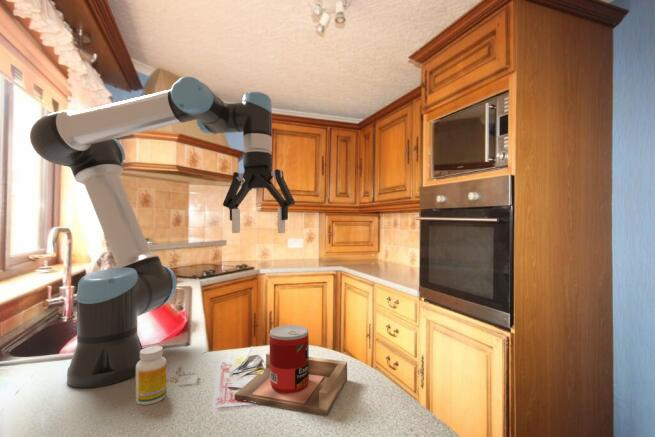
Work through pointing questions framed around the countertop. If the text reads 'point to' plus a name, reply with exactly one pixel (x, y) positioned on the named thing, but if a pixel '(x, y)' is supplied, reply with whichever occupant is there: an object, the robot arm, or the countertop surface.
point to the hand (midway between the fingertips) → (258, 233)
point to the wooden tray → (313, 399)
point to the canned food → (289, 358)
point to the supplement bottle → (150, 376)
